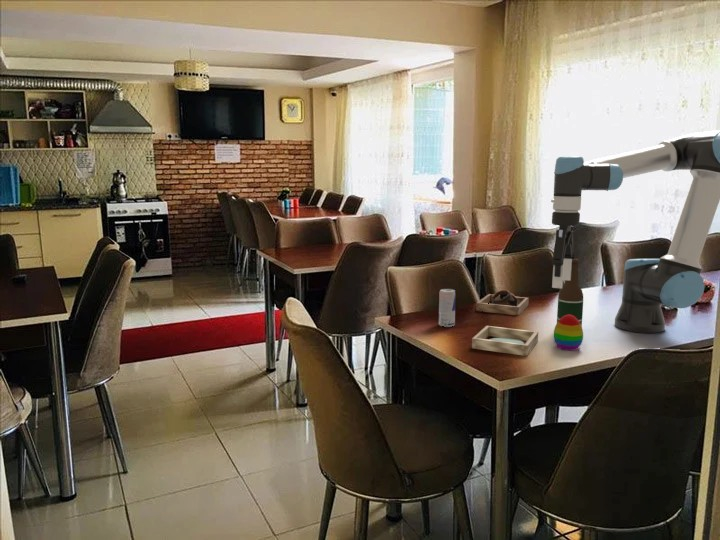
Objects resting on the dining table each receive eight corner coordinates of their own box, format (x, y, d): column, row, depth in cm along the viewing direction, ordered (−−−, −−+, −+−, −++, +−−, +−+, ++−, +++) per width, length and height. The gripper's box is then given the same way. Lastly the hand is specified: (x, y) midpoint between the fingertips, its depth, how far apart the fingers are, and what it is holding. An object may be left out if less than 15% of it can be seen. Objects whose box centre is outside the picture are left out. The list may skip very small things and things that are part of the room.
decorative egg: (548, 343, 179) (550, 311, 177) (575, 343, 179) (577, 311, 177) (558, 352, 171) (560, 318, 169) (586, 351, 171) (589, 317, 169)
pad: (527, 342, 180) (527, 340, 180) (520, 352, 170) (520, 350, 170) (492, 337, 185) (492, 335, 185) (482, 347, 175) (482, 345, 175)
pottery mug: (523, 313, 218) (514, 295, 215) (499, 323, 220) (490, 305, 218) (517, 298, 229) (508, 281, 226) (494, 307, 231) (485, 290, 228)
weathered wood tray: (528, 305, 228) (528, 297, 228) (518, 315, 213) (518, 307, 212) (488, 301, 235) (488, 293, 234) (476, 310, 220) (476, 302, 219)
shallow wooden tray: (537, 341, 181) (538, 331, 181) (527, 355, 167) (527, 345, 167) (486, 334, 188) (486, 325, 188) (471, 348, 174) (472, 338, 174)
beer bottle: (578, 337, 185) (583, 261, 181) (553, 333, 189) (557, 259, 185) (583, 331, 192) (588, 258, 188) (559, 328, 196) (563, 256, 192)
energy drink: (456, 324, 201) (457, 289, 199) (452, 328, 196) (453, 292, 194) (441, 322, 203) (442, 288, 201) (436, 326, 198) (437, 291, 196)
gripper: (560, 208, 183) (556, 276, 186) (543, 213, 161) (539, 289, 165) (586, 209, 179) (581, 278, 183) (572, 214, 157) (567, 292, 161)
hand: (561, 283), depth 174 cm, fingers open, 13 cm apart
